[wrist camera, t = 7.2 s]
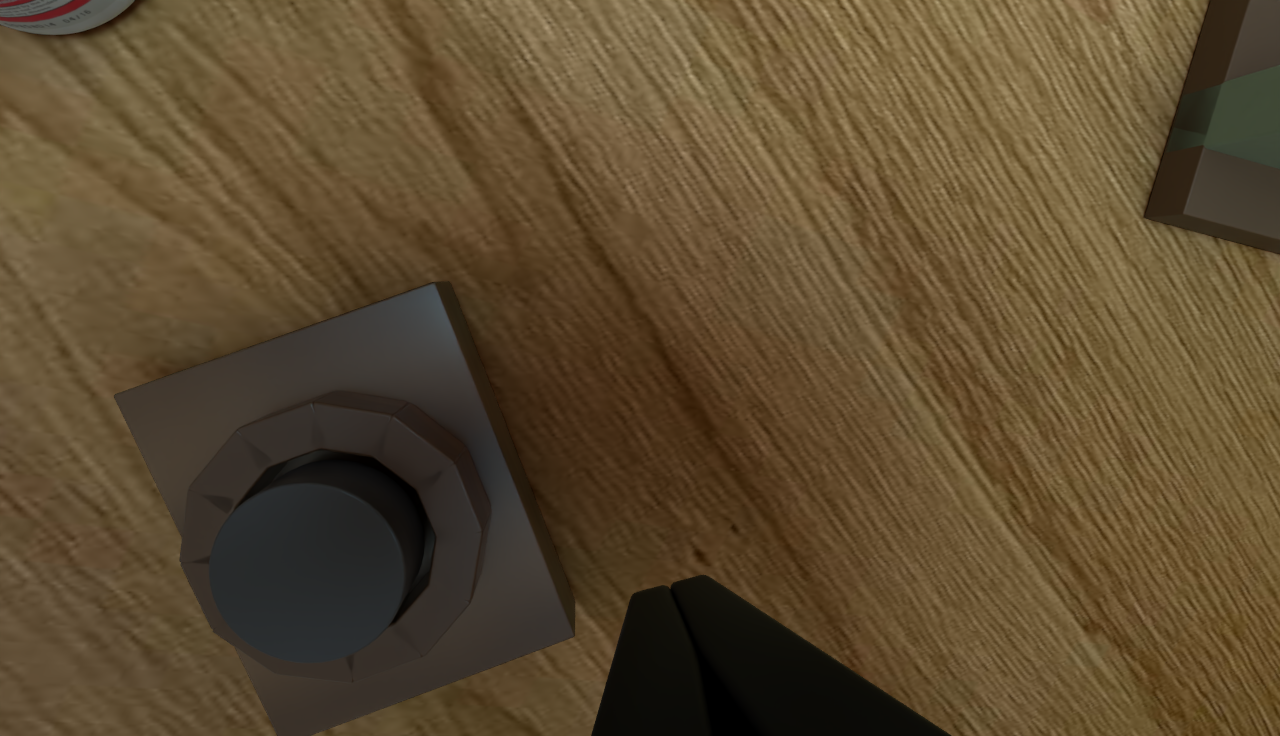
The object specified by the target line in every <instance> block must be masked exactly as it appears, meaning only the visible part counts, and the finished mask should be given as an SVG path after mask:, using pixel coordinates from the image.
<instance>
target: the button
mask: <svg viewBox="0 0 1280 736" xmlns="http://www.w3.org/2000/svg"><path fill="white" fill-rule="evenodd" d="M424 546H425V541H424V531H423V525H422V522H421V519H420V516H419V513H418V511H417V509H416V507H415V505H414V503H413V502H412V500H411V499H410V497H409V496H408V494H407V493H406V492H405V491H404V490H403V489H402V488H401V486H400V485H398V484H397V483H396V482H395V481H394V480H393V479H391V478H390V477H388V476H387V475H385V474H384V473H382V472H381V471H379V470H377V469H375V468H373V467H370V466H367V465H364V464H361V463H357V462H353V461H347V460H323V461H316V462H312V463H308V464H305V465H302V466H300V467H297V468H295V469H293V470H291V471H289V472H288V473H286V474H284V475H283V476H281V477H280V478H278V479H277V480H275V481H274V482H272V483H271V484H269V485H268V486H266V487H265V488H263V489H262V490H261V491H259V492H258V493H256V494H255V495H253V496H252V497H250V498H249V499H247V500H246V501H245V502H243V503H242V504H241V505H240V506H238V507H237V508H236V509H235V510H234V511H233V512H232V513H231V514H230V515H229V517H228V518H227V519H226V521H225V522H224V524H223V525H222V526H221V528H220V530H219V532H218V534H217V536H216V538H215V541H214V544H213V547H212V550H211V555H210V561H209V581H210V588H211V592H212V596H213V599H214V601H215V604H216V606H217V608H218V610H219V612H220V614H221V616H222V617H223V619H224V620H225V622H226V623H227V624H228V626H229V627H230V628H231V629H232V630H233V631H234V632H235V633H236V634H237V635H238V636H239V637H240V638H241V639H242V640H244V641H245V642H246V643H247V644H249V645H250V646H252V647H254V648H255V649H257V650H259V651H260V652H263V653H265V654H267V655H269V656H272V657H275V658H278V659H281V660H285V661H290V662H296V663H322V662H328V661H334V660H337V659H340V658H344V657H347V656H349V655H351V654H353V653H356V652H358V651H360V650H361V649H363V648H365V647H366V646H368V645H369V644H371V643H372V642H373V641H374V640H376V639H377V638H378V637H379V636H380V635H381V634H382V633H383V632H384V631H385V630H386V629H387V627H388V626H389V625H390V623H391V622H392V621H393V619H394V617H395V616H396V614H397V612H398V610H399V608H400V606H401V605H402V603H403V601H404V599H405V597H406V595H407V594H408V592H409V590H410V588H411V586H412V584H413V582H414V581H415V579H416V577H417V575H418V573H419V570H420V567H421V565H422V560H423V556H424Z"/></svg>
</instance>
